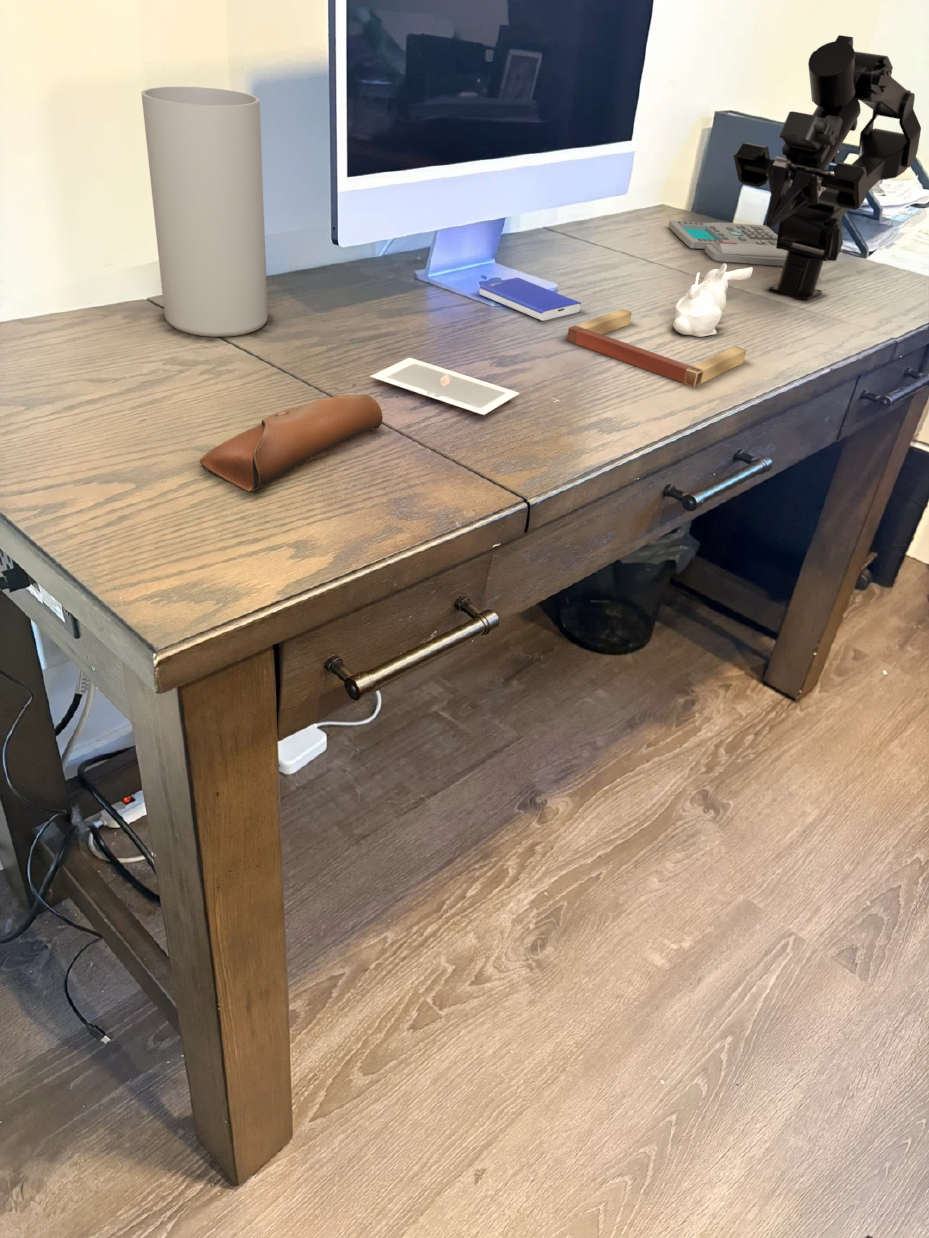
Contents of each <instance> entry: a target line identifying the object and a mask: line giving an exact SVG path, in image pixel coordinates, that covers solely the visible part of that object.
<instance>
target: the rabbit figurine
mask: <svg viewBox="0 0 929 1238" xmlns="http://www.w3.org/2000/svg"><path fill="white" fill-rule="evenodd" d="M727 266H728V265H727V263H725V262H724V263H722V264H721V265H720V267H719V268H713V269H710V270H709V271H708V272H707V273H706V275H705V276H704V278H703V280H702V281H701V282H700V283H699V280H700V276H701V272H697V274H696V276H695V280H694V281H695V282H694V284H692V285H691V286H690V287H689V288H688V291H687V293H686V295H684V296H683V297H681V298H680V299H679V300H678V301H677V303H676V306H675V309H674V320H673V323H672V327H673V328H674V330H675V332H677V333H679V334H681V335H684V336H695V337H698V338H700V337H701V338H703V337H706V336H713V335H717V330H716V327H717V326H718V324H719V323H720V321H721V319H722V316H723V312H724V311H725V309H726V307H727V290H728V288H729V283H730V282H729V281H746V280H748V279H749V278H750V277H751V275H752V274H753V270H754V268H753V266H750V267H745V268H744V267H743V268H737V269H733V270H729V271H727V268H728V267H727Z"/></svg>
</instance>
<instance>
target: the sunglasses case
mask: <svg viewBox="0 0 929 1238" xmlns="http://www.w3.org/2000/svg"><path fill="white" fill-rule="evenodd" d="M383 419H384V418H383V412H382V408H381V406H380V405H379V403H378V401H376V399H374V398H373V397H372V396H370V395H366V394H349V395H338V396H332V397H326V398H323V399H317V400H314V401H311V402H310V401H309V402H308V403H304V404H301V405H299V406H294V407H289V408H286V409H283V410H281V411H279V412H276V413H274V414H272V415H270V416H266V417H264V418H262V419H261V423H260V424H259V425H256V426H254V427H252V428H249V429H247V430H245V431H243V432H241V433H238V434H237V435H235V436H234V437H231V438H229V439H227V440H225V441H223V442H222V443H221V444H219V445H217V446H215V447H213V448H212V449H211V450H209V451H208V452H206V453H205V454H204V455H202V457H200V458H199V463H200V465H201V466H202V467H203V468H205V469H206V470H208V471H209V472H211V473H212V474H214V476H217V477H218V478H220V479H222V480H224V481H225V482H227V483H229V484H232V485H233V486H235V487H237V488H239V489H242V490H244V491H245V492H247V493H252V492H257V490H258V489H259V488H260V487H266V486H267V485H269V484H271V483H272V482H274V481H276V480H277V479H279V478H281V477H283V476H284V475H286V474H287V473H289V472H291V471H292V470H294V469H295V468H296V467H299V466H301V465H303V464H305V463H306V462H308V461H309V460H310V459H312V458H315V457H317V456H319V455H321V454H324V453H326V452H328V451H330V450H332V449H333V448H336V447H337V446H339V445H340V444H343V443H345V442H348V441H351V440H352V439H354V438H356V437H358V436H360V435H362V434H364V433H366V432H368V431H371V430H373V429H378V428H380V427H381V426H382V424H383Z"/></svg>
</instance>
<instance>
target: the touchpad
mask: <svg viewBox="0 0 929 1238" xmlns="http://www.w3.org/2000/svg"><path fill="white" fill-rule="evenodd" d="M369 377H370V378H373V379H376V380H379V381H382V382H385V383H388V384H389V385H390V384H391V385H394V386H396V387H400V388H403V389H406V390H408V391H411V392H415V393H417V394H420V395H423V396H426V397H429V398H432V399H435V400H438V401H440V402H444V403H447V404H450V405H453V406H455V407H459V408H462V409H464V410H467V411H471V412H473V413H476V414H479V415H483V416H485V415H486V414H488V413H490V412H491V411H493V410H494V409H496V408H498V407H500V406H502V405H503V404H504V403H506V402H508V401H510V400H511V399H512V398H515V397H516V396H518V395H520V392H518V391H515V390H513V389H509V388H505V387H503V386H500V385H497V384H493V383H490V382H487V381H485V380H484V381H483V380H481V379H477V378H476V377H475V378H474V377H471V376H469V375H465V374H462V373H459V372H456V371H453V370H449V369H447V368H443V367H441V366H437V365H434V364H431V363H427V362H424V361H421V360H418V359H416V358H412V357H407V358H406V359H403V360H401V361H399V362H397V363H395V364H393V365H390V366H389V367H386V368H384V369H382V370H380V371H378V372H375V373H374V374H372V375H369Z"/></svg>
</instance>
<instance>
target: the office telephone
mask: <svg viewBox="0 0 929 1238" xmlns="http://www.w3.org/2000/svg"><path fill="white" fill-rule="evenodd" d="M668 228H669V229H670V230H671V231H672V232H673V233H674V234H675V236H677V237H678V238H679V239H680V240H681V241H682V242H683V243H684V244H685V245H686V246H687V247H688V248H690V249H701V250H703V249H704V252H705V254H707V255H708V257H709V258H711V259H712V260H713V261H716V262H724V263H725V262H726V263H738V264H751V265H752V264H753V265H765V266H778V267H779V266H781V267H783V266H784V262H785V259H786V255H787V252H788V251H787V250H783V249H777V248H776V245H777V237H778V233H775V232H774V231H773V230H772V229H771V227H767V225H764V224H748V223H734V222H715V221H714V222H713V221H712V222H697V221H683V220H673V219H672V220H669V223H668Z"/></svg>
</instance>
